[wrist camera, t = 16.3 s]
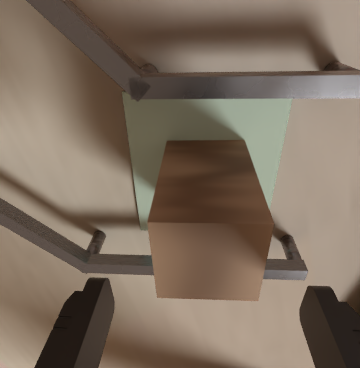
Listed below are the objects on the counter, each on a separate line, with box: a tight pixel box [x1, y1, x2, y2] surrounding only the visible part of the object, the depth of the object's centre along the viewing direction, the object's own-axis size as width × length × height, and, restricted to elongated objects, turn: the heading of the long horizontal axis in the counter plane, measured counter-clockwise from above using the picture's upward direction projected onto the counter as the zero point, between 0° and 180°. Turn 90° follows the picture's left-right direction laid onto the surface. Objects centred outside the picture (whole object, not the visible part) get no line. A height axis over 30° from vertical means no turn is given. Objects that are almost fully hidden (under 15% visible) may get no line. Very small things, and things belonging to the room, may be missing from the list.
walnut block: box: [147, 140, 274, 301], centre depth 15 cm, size 5×5×8 cm
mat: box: [122, 92, 292, 230], centre depth 19 cm, size 10×11×1 cm
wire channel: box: [0, 0, 360, 280], centre depth 16 cm, size 32×22×4 cm
